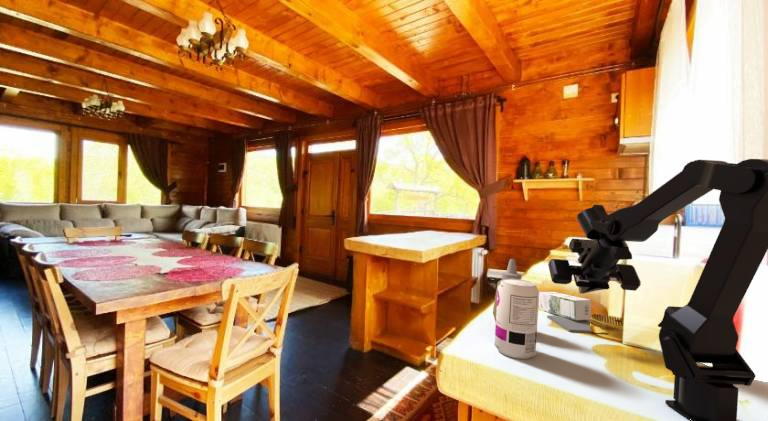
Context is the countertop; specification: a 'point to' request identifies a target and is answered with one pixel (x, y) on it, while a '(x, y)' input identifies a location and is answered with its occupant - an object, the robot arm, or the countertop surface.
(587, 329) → the slate mat
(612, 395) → the countertop surface
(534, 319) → the supplement can
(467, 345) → the countertop surface
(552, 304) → the syrup box
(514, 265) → the squeeze bottle
